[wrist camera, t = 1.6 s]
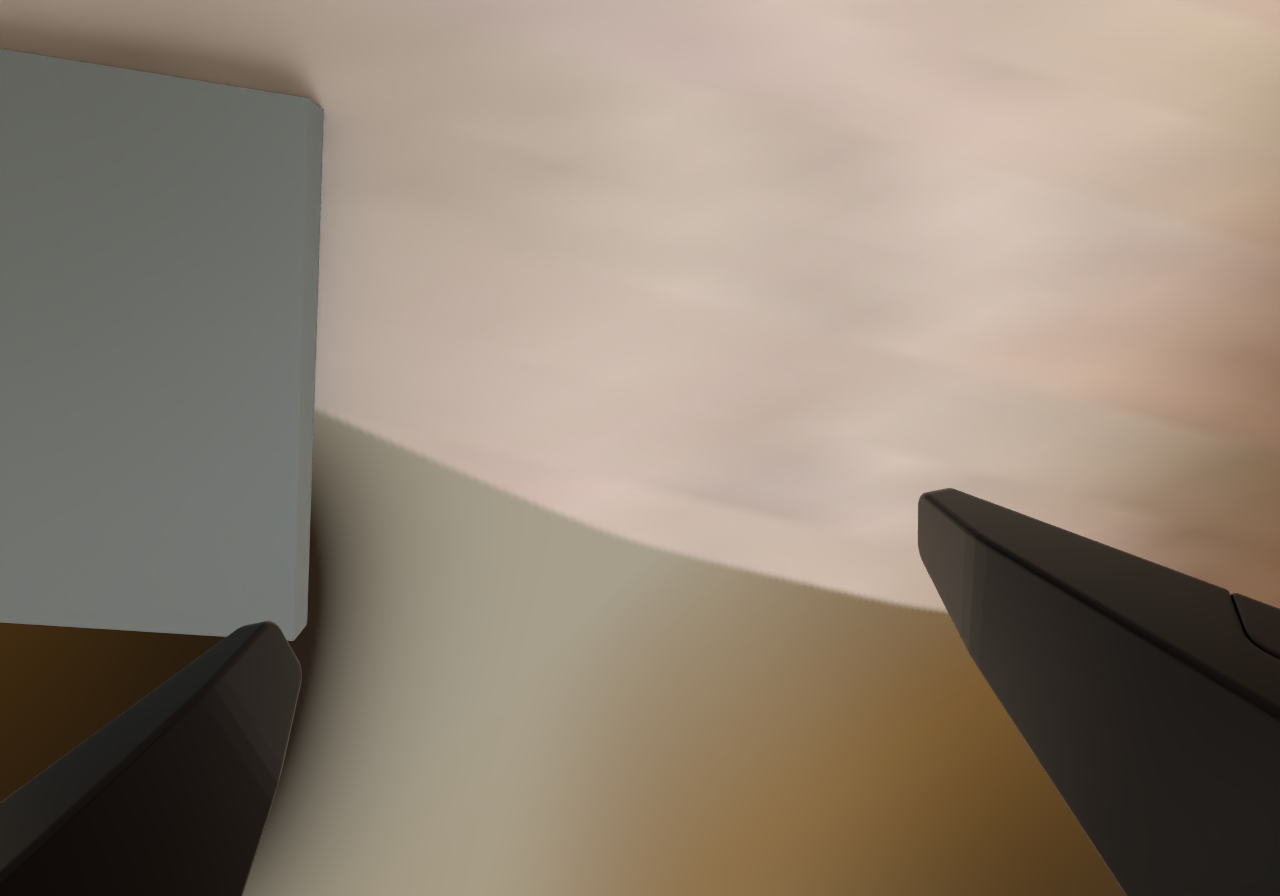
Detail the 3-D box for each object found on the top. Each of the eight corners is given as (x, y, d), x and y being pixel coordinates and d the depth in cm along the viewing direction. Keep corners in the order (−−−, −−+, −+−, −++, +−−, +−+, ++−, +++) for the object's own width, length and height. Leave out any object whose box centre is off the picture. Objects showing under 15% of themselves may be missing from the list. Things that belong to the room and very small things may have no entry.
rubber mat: (306, 624, 20) (293, 641, 19) (-247, 587, 18) (-294, 603, 17) (323, 109, 17) (308, 97, 16) (-330, 5, 15) (-391, -15, 14)
